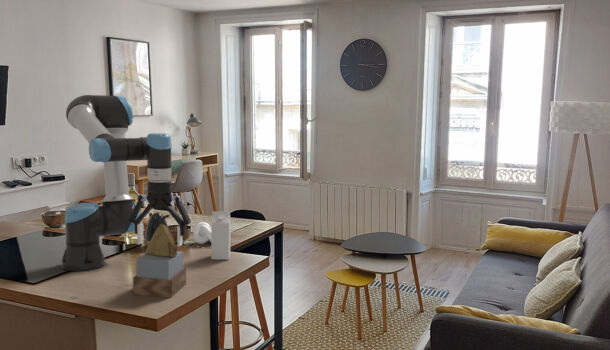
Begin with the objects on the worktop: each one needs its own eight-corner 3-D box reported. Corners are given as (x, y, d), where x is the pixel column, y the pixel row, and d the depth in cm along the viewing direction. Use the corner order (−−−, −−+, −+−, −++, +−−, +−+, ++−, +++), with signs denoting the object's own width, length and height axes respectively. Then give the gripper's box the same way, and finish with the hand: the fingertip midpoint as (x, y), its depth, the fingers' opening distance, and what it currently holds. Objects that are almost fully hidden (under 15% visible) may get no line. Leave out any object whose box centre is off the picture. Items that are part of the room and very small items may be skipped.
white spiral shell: (189, 245, 232) (189, 225, 231) (196, 239, 244) (196, 220, 243) (214, 246, 232) (215, 226, 231) (220, 240, 244) (220, 220, 243)
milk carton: (212, 255, 218) (213, 210, 216) (230, 255, 219) (230, 210, 216) (211, 259, 211) (211, 213, 209) (229, 259, 212) (229, 213, 209)
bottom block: (133, 295, 170) (133, 277, 170) (150, 282, 183) (149, 265, 183) (172, 298, 169) (171, 280, 168) (186, 284, 182) (186, 268, 181)
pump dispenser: (166, 250, 224) (166, 215, 222) (142, 249, 224) (141, 214, 222) (172, 244, 234) (172, 210, 232) (149, 243, 234) (148, 209, 232)
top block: (136, 277, 170) (136, 258, 169) (153, 266, 182) (153, 249, 181) (168, 279, 168) (168, 261, 168) (183, 268, 180) (183, 251, 179)
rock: (186, 249, 174) (176, 238, 182) (172, 231, 169) (162, 221, 177) (159, 271, 170) (150, 259, 178) (144, 253, 166) (135, 242, 174)
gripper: (117, 180, 170) (118, 245, 172) (193, 183, 167) (193, 249, 170) (127, 177, 177) (128, 239, 180) (200, 180, 174) (200, 243, 177)
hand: (160, 244), depth 175 cm, fingers open, 13 cm apart
